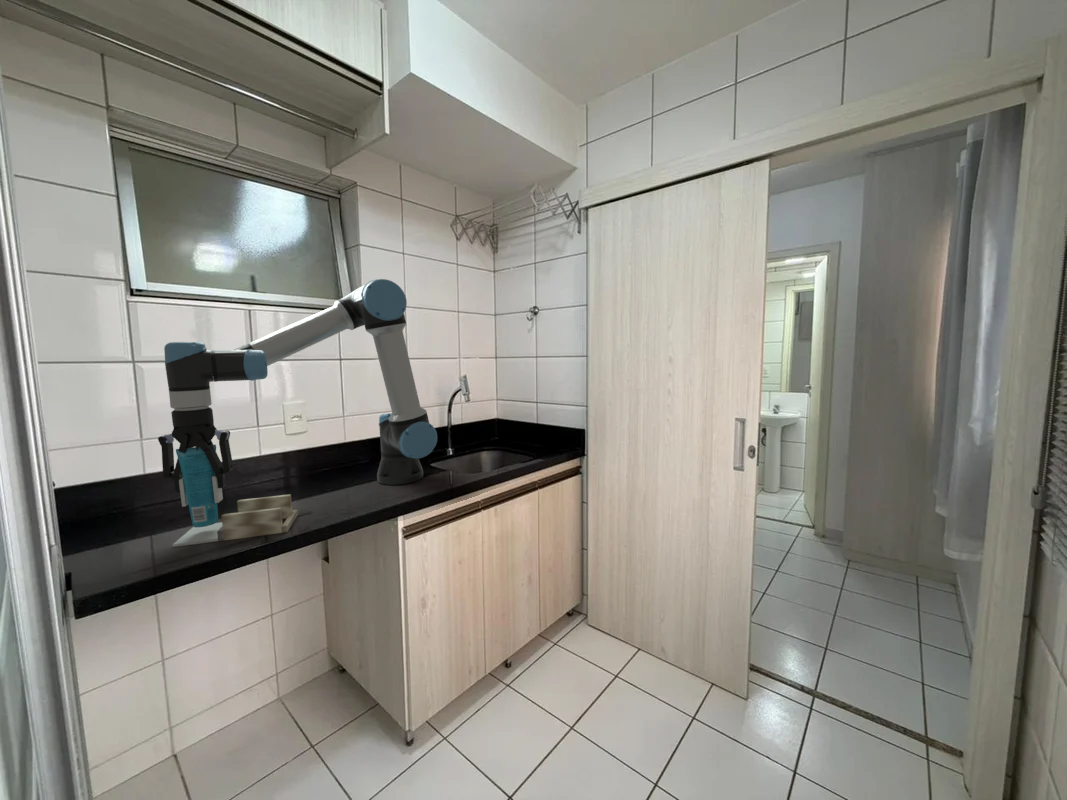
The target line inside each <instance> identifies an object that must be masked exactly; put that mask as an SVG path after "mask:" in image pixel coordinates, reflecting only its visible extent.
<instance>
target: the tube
mask: <svg viewBox="0 0 1067 800" xmlns="http://www.w3.org/2000/svg"><path fill="white" fill-rule="evenodd" d="M213 449H214V451H215V452H216V453H217V444H213ZM175 452H176V453H175V454H176V457H177V458H178V460H179V463H180V467H181V471H182V475H183V480H184V484H185V489H186V494H187V499H188V508H189V513H190V518H191V523H192V528H193V527H206V526H209V525H213V524H215V523H219V513H218V512H219V511H218V503H215V500H214V491H213V482H212V477H213V476H214V475H216V474H215V472H214V470H213V468H212V466H211V464H210V462H209V460H208V458H207V456H206V454H205V452H204V451H203V450H202V449H201V447H192V448H187V451H186V453H182V452H179V448H176V449H175Z"/></svg>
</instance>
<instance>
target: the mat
mask: <svg viewBox="0 0 1067 800" xmlns="http://www.w3.org/2000/svg"><path fill="white" fill-rule="evenodd" d="M222 526H223V525H222V521H220V522H216V523H215V524H213V525H209V526H206V527H193V526H192V528H190V529H189V530H188V531H186V532H185V533H184V534H183V535H182V536H180V537H179V538H178V539H177V540H176V541H175V542H174V543H173V544H172V547H173V548H175V547H176V548H177V547H183V546H191V545H198V544H207V543H214V542H215V543H216V542H219V541H218V535H217V531H218V530H219V529H220V528H221V527H222Z"/></svg>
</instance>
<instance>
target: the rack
mask: <svg viewBox="0 0 1067 800" xmlns="http://www.w3.org/2000/svg"><path fill="white" fill-rule="evenodd" d="M236 504H237V512H229V513H224V514H223V513H222V515H221V522H222V525H223V526H222V527H221V528H220V529H219V530H218V531H217V535H218V541H217V542H222V541H223V542H224V541H231V540H237V539H245V538H253V537H258V536H268V535H277V534H282V533H288V532H289V531H290V529H291V527H292V525H293V524H294V522H295V520H296V519H297V517H298V516H299V515H298V513H299V512H298V509H293V503H292V494H291V493H290V494H281V495H280V494H279V495H271V496H262V497H255V498H254V497H252V498H245V499H244V498H243V499H238V500H237V501H236ZM283 519H285V521H283Z"/></svg>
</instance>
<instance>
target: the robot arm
mask: <svg viewBox="0 0 1067 800" xmlns="http://www.w3.org/2000/svg"><path fill="white" fill-rule="evenodd" d="M407 303H408V302H407V298H406V294H405V292H404V290H403V289H402V288H401V287H400V285H398V284H397V283H395V282H394V281H392V280H390V279H384V278H379V279H377V278H376V279H373V280H370V281H368V282H366V284H363V285H360V286H359V287H358V288H356V289H355V290H353V291H351V292H350V293H349V294H347V295H346V296H344V297H342V298H339V299H338V300H335V301H334V304H333V306H330V307H328V308H326V309H324V310H321V311H319V312H317V313H314V314H312V315H310V316H308V317H305V318H303V319H301V320H299V321H296V322H294V323H291V324H289V325H287V326H285V327H282V328H280V329H278V330H276V331H273V332H271V333H269V334H266V335H265V336H262V337H259V338H258V339H255V340H253V341H251V342H248V343H246V344H243V345H241V346H239V347H236V348H235V349H232V350H231V349H229V350H228V349H227V350H225V349H224V350H211V349H207V347H206V344H205V343H204V342H201V341H199V342H198V341H197V342H196V341H195V342H194V341H193V342H192V341H191V342H190V341H181V342H180V341H173V342H168V343H166V344H165V345H164V349H163V350H164V366H165V373H166V380H167V385H168V386H167V387H168V395H169V405H170V408H171V409H173V410H171V412H170V413H171V421H172V427H173V429H172V431H171V433H168V434H163V435H161V436H158V437H157V441H158V442H159V445H160V446H161V462H162V463H161V464H162V476H163V478H165V479H167V478H168V479H172V480H173V481H174V489H175V493H179V495H180V500H181V501H180V502H181V507H182V508H183V507H186V506H189V504H188V499H187V494H186V489H185V484H184V480H183V475H182V471H181V467H180V463H179V460H178V457H177V458H176V462H175V456H174V441H175V440H176V441H177V442H178V443H179V448H178V449H179V452H182V453H186V451H187V448H192V447H201V449H202V450H203V451H204V452H205V454H206V456H207V458H208V460H209V462H210V464H211V466H212V468H213V470H214V472H215V474H216V475H214V476H213V477H212V482H213V491H214V500H215V503H217V504H219V503H220V502H221V501H223V500H224V497H223V488H225V487H226V484H227V483H226V474H227V473H229V472H231V471H232V470H233V469H234V463H233V457H232V451H231V446H230V440H229V439H230V436H231V432H230V431H229V430H224V431H223V430H218V429H217V427H216V426H215V422H214V414H213V408H212V407H209V406H211V405H212V403H213V402H212V395H211V386H210V383H211V382H214V383H215V382H237V381H238V382H239V381H256V380H257V381H259V380H265V379H266V378H267V377H268V371H269V370H268V367H269V366H271V365H273V364H275V363H277V362H280V361H282V360H284V359H286V358H288V357H290V356H292V355H294V354H296V353H299V352H301V351H303V350H305V349H306V348H309V347H312V346H313V345H315V344H317V343H321V342H322V341H324V340H326V339H329V338H332V336H335V335H337V334H339V333H341V332H344V331H345V330H350V331H353V330H355V329H357V328H360V327H363V326H364V328H365V331H366V332H367V333H368V334H369V335H371V336H372V337H373V341H374V345H375V350H376V352H377V358H378V362H379V364H380V365H379V367H380V370H381V373H382V378H383V382H384V386H385V390H386V394H387V397H388V402H389V406H390V410H391V413H389V412H388V413H383V414H381V415H380V416H379V417H378V418H379V420H378V421H379V422H378V427H379V440H380V456H381V459H380V462H379V466H378V468H377V473H376V479H377V482H378V483H379V484H382V485H388V486H389V485H391V486H392V485H393V486H394V485H395V486H396V485H407V484H410V483H413V482H417V481H420V480H421V479H422V478H423V477H424V470H423V467H422V464H421V462H420V459H422V458H425V457H427V456H428V455H430V454H431V453H432V452H433V451H434V448H435V447H436V446H437V443H438V433H437V430H436V428H435V427H434V425H433V424H431V423H430V420H429V416H428V412H427V409H425V408H423V407H422V406H421V404H420V400H419V395H418V390H417V387H416V383H415V379H414V373H413V370H412V366H411V361H410V356H409V353H408V348H407V345H406V344H407V343H406V339H405V335H404V329H405V327H406V326H407V321H406V316H405V311H406V309H407V305H408V304H407ZM215 436H216V439H217V440H218V444H219V450H220V455H221V459H220V457H219V455H218V453H217V451H216V452H215V451H214V449H213V445H214V442H213V441H212V440H213V438H214V437H215Z"/></svg>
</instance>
